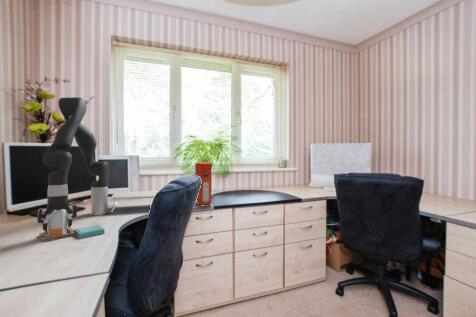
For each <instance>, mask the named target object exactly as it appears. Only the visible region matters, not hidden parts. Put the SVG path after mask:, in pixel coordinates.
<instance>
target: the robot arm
mask: <svg viewBox="0 0 476 317" xmlns="http://www.w3.org/2000/svg"><path fill="white" fill-rule="evenodd" d="M57 104H58V108H59V111H60V112H61V116H63V118H64V120H65V123H63V124H61V126H60V127H59V128H58V130H56V132H55V137H54V139H53V142H52V144H51V145H50V146H49V147H48V148H47V150H46V151H45V153H44V154H43V158H42V161H43V164H44V165H45V166H48V167H59V169H58V170H56V171H51V172H49V173H48V176H47V182H48V184H47V186H48V187H47V198H46V199H47V200H46V201H47V203H46V204H47V207H45V208H39V209H38V210H37V219H36V221H37V222H38V224H42V231H43V232H46V231H48V220H49V219H51V217H52V216H53V215H54V214H55V213H56V212H57V210H64V209H66V211H65V215H66V216H67V228H70V227H72V225H73V219H74V218H77V216H78V215H77V205H76V204H75V203H74V204H70V205H69V188H68V187H69V186H68V174H69V171H70V168H71V165H72V162H73V156H72V154H71V153H70V151H68V150H70V149H71V148H72V146H73V145H72V144H73V141H74V140H75V142H76V144H77V146H78V148H79V150H80V153H81V154H82V157H83V159H84V163H85V167H86V169H87V171H88V173H89V175H90V176H92V177H94V176H95V177H98V178H99V179H98V180H96V181H93V182H91V183H90V215H91V216H102V215H107V214H108V213H109V211H108V210H109V183H110V164H109V162H107V161H99V160H96V159H95V158H94V154H95V152H96V148H97V141H96V139H95V136H94V133H93V132H92V131H91V130H90V129H89V128H88V127H87V126H85V125H84V124H83V123H82V121H83V119H84V116H85V115H86V112H87V109H88V108H87V103H86V101H85V99H84V98H83V97H78V96H77V97H76V96H74V97H68V96H67V97H60V98H59V99H58V103H57ZM69 209H70V210H71V212H72V215H70V214H69V213H68V210H69ZM45 212H47V214H46V216H45V217H44V219H43V215H44V214H45ZM48 213H49V214H50V215H49V216H48Z"/></svg>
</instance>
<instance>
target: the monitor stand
mask: <svg viewBox="0 0 476 317" xmlns="http://www.w3.org/2000/svg"><path fill="white" fill-rule="evenodd" d="M158 191H159V190H141V191H140V190H138V191H137V190H136V191H117V192H116V191H115V192H114V193H113V194H112V195H111V196H110V199H112V200H114V204H113V207H112V209H110V210H111V211H110V212H109V214H110V215H112V214H113V213H114V211H115V210H116V208H117V204H118V200H134V199H137V200H138V199H152V198H154V196H155V195H156V193H157V192H158Z"/></svg>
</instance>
